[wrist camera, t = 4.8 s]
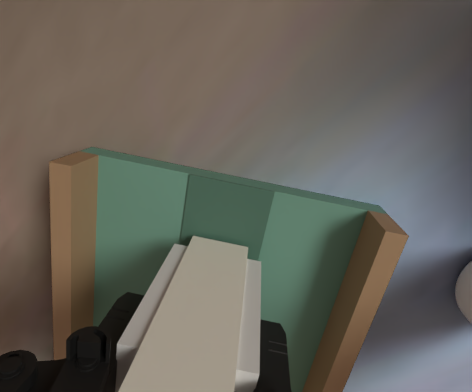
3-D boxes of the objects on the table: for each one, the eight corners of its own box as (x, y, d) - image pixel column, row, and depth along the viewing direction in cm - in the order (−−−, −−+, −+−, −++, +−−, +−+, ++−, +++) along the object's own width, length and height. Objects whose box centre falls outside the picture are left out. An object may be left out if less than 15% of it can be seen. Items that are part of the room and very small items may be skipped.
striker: (165, 228, 16) (-40, 521, 5) (276, 251, 16) (303, 601, 5) (154, 318, 18) (-9, 664, 7) (253, 339, 18) (236, 722, 7)
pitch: (91, 147, 17) (42, 163, 13) (379, 205, 17) (413, 240, 13) (84, 434, 25) (53, 495, 21) (277, 477, 25) (279, 546, 21)
